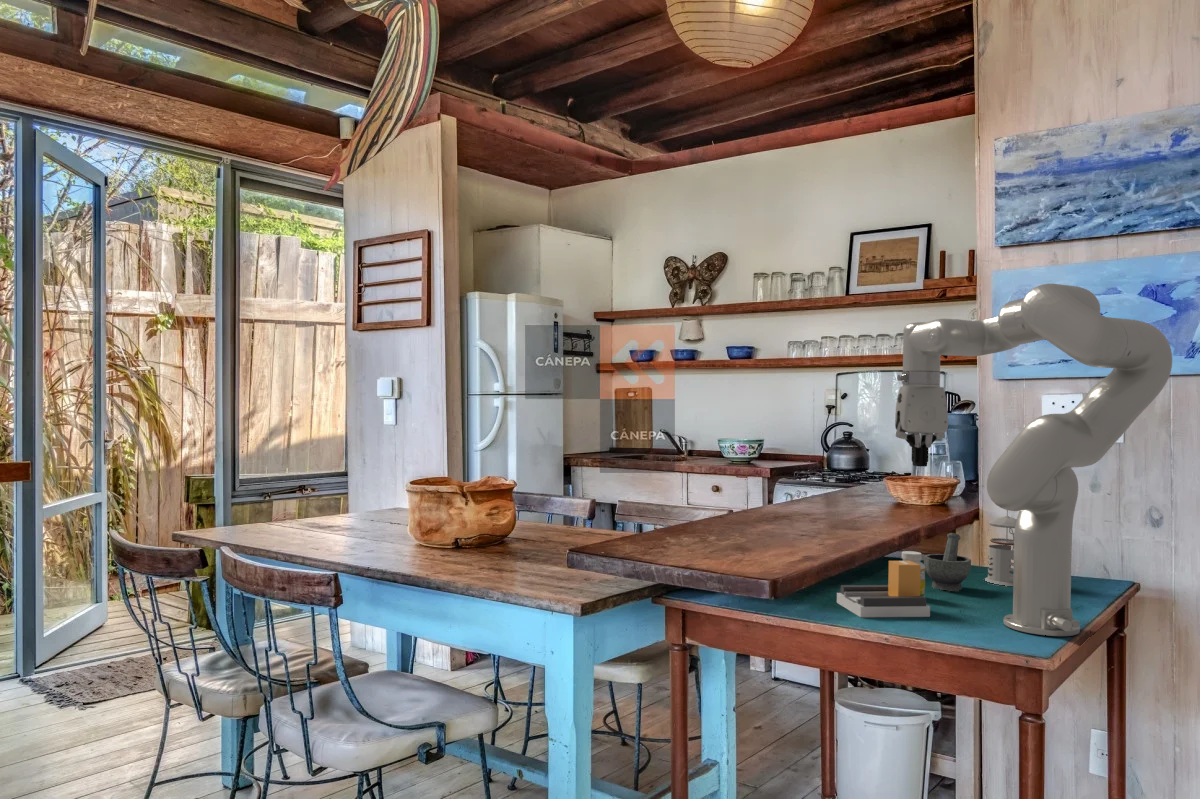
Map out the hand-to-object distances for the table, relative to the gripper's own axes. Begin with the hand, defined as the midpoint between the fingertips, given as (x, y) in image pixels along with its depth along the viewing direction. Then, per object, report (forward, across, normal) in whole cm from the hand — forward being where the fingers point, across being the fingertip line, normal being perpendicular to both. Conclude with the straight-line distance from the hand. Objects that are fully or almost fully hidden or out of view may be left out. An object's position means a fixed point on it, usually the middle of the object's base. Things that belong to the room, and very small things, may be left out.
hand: (919, 465), depth 184 cm
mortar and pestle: (+28, +11, +8) cm, 31 cm away
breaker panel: (+28, -13, -10) cm, 33 cm away
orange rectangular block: (+26, -9, -11) cm, 29 cm away
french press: (+28, +30, +13) cm, 43 cm away
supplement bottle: (+28, -2, -1) cm, 28 cm away
